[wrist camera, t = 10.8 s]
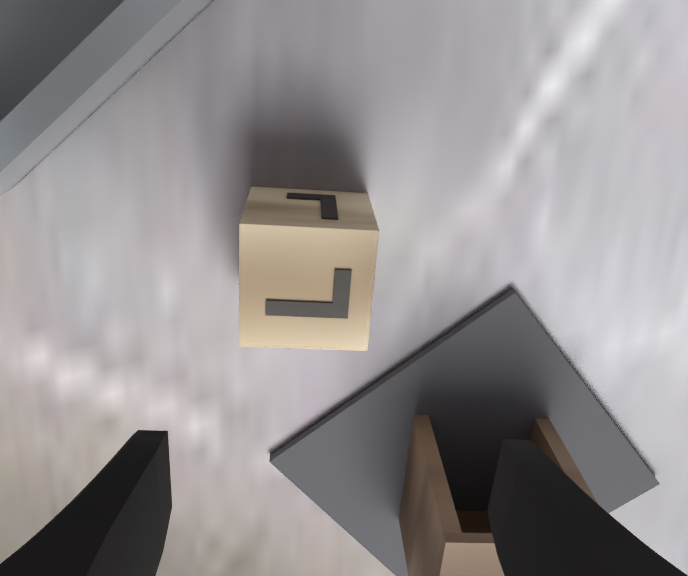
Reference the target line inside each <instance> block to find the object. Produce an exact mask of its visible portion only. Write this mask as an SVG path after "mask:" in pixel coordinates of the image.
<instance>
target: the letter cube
mask: <svg viewBox="0 0 688 576" xmlns="http://www.w3.org/2000/svg"><path fill="white" fill-rule="evenodd" d="M378 237H379V229H378V226H377V222H376V219H375V216H374V212H373V209H372V206H371V202H370V199H369V196H368V193H358V192H341V191H323V190H305V189H287V188H269V187H251V188H250V191H249V195H248V198H247V201H246V204H245V207H244V210H243V213H242V216H241V220H240V223H239V346H244V347H272V348H299V349H327V350H354V351H367V347H368V337H369V327H370V317H371V307H372V297H373V287H374V277H375V267H376V257H377V247H378Z"/></svg>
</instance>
